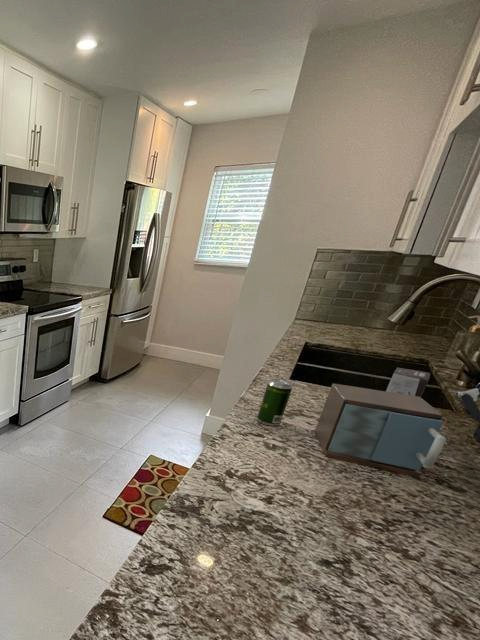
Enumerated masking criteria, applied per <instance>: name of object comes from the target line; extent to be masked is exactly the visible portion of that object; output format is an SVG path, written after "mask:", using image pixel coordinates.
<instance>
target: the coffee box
mask: <svg viewBox="0 0 480 640" xmlns="http://www.w3.org/2000/svg"><path fill="white" fill-rule="evenodd" d="M430 376H431V372H427V371H422V370H416V369H415V370H414V369H408V368H402V367H396V369H395V370H394V372H393V373H392V376H391V378H390V380H389V383H388V385H387V387H386V390H385V392H392V393H398V394H405V395H411V396H418V397H421V398H422V396H423V394H424V392H425V390H426V387H427V385H428V383H429V381H430V378H431V377H430Z"/></svg>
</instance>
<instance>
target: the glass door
mask: <svg viewBox="0 0 480 640" xmlns="http://www.w3.org/2000/svg"><path fill="white" fill-rule="evenodd" d="M443 424H444V421H443V420H442V419H441V420H435V419H429V418H423V417H417V416H411V415H406V414H400V413H394V412H390V415H389V417H388V419H387V421H386V424H385V426H384V428H383V431H382V433H381V435H380V438H379V440H378V442H377V444H376V447H375V449H374V451H373V454H372V456H371V458H370V459H371V460H372V461H377V462H382V463H386V464H391V465H396V466H400V467H405V468H410V469H414V470H418V471H420V470H421V469H422V467H424V468H425V469H432V468H433V467H434V466H435V463H436V461H437V459H438V457H439V455H440V453H441V451H442V449H443V447H444V445H445V443H446V441H447V438H446V436H443V435H442V434H440V433H439V431H440V429H441V427H442V425H443Z"/></svg>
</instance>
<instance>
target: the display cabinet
mask: <svg viewBox="0 0 480 640" xmlns="http://www.w3.org/2000/svg"><path fill="white" fill-rule="evenodd" d="M390 412H394V413H400V414H406V415H411V416H417V417H423V418H429V419H435V420H441V421H442V419H443V417H444V415H443V414H442V413H441V412H439V411H438V410H437V409H436V408H435V407H433V406H432V405H430V404H429V403H428V402H427V401H426V400H425V399H423V398H422V396H421V397H418V396H411V395H405V394H398V393H392V392H386V390H378V389H372V388H365V387H359V386H353V385H345V384H340V383H332V384H331V386H330V389H329V391H328V394H327V397H326V400H325V402H324V405H323V408H322V411H321V413H320V416H319V418H318V421H317V424H316V427H315V429H314V432H313V433H314V435H315V439H316V440H317V442H318V444H319V446H320V448H321V450H322V452H323V454H324V456H325V457H326V458H330V459H334V460H335V459H336V460H339V461H342V462H343V461H344V462H349V463H354V464H356V465H363V466H367V467H370V468H371V467H372V468H375V469H381V470H384V471H389V472H394V473H399V474H403V475H408V476H413V477H417V478H419V477H421V476H420V475H421V472H420V470H414V469H410V468H405V467H400V466H396V465H391V464H386V463H382V462H377V461H372V460H371V459H370V458H371V456H372V454H373V451H374V449H375V447H376V444H377V442H378V440H379V438H380V435H381V433H382V431H383V428H384V426H385V424H386V421H387V419H388V417H389V415H390Z"/></svg>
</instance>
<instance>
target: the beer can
mask: <svg viewBox="0 0 480 640" xmlns="http://www.w3.org/2000/svg"><path fill="white" fill-rule="evenodd" d="M292 391H293V382H291V381H289V380H286V379H283V378H270V379H269V381H268V382H267V384H266V387H265V390H264V394H263V397H262V400H261V402H260V403H261V404H260V406H259V410H258V413H257V421H258V422H259V423H260V424H263V425H265V426H269V427H278V426H279V425H280V424H281V423H282V420H283V417H284V414H285V411H286V409H287V406H288V402H289V399H290V396H291V393H292Z"/></svg>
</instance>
